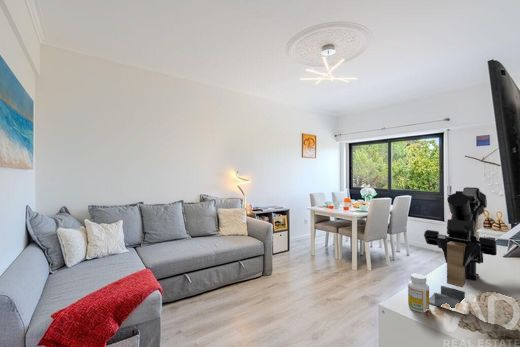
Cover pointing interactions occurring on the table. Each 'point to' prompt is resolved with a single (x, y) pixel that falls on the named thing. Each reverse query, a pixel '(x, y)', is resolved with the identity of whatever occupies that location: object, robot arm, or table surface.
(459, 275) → the brown wooden block
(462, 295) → the clip
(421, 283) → the supplement bottle
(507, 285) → the table surface
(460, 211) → the robot arm
